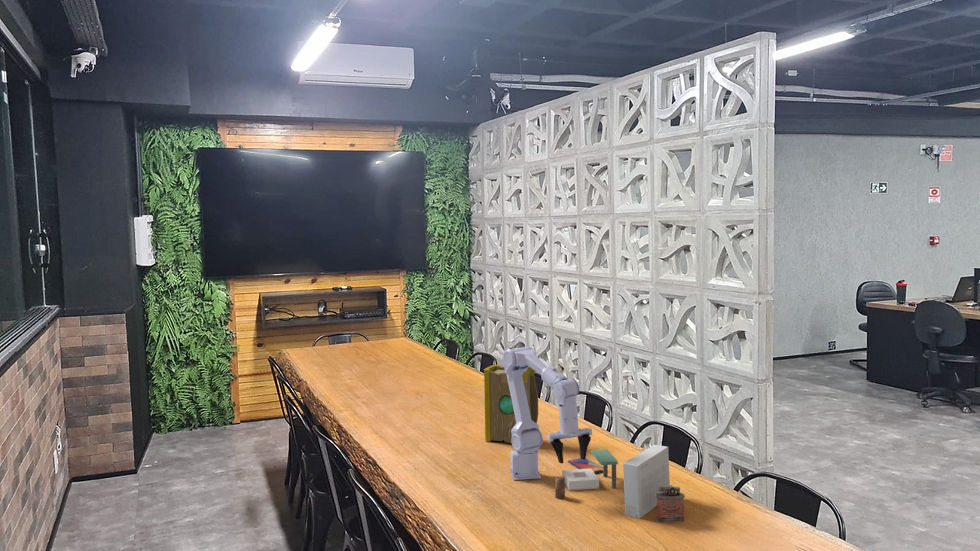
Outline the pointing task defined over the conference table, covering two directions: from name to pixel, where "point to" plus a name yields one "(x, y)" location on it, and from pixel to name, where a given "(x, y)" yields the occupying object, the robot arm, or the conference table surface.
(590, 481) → the socket block
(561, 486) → the peg
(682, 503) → the lighter
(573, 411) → the robot arm
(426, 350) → the conference table surface
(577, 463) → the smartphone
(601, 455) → the small green stool
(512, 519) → the conference table surface
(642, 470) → the skincare box
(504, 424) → the decorative book
